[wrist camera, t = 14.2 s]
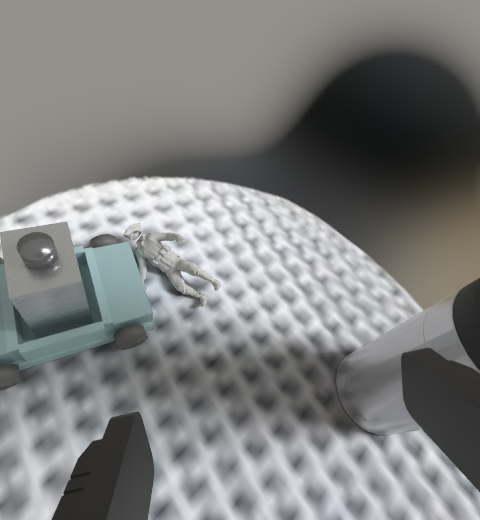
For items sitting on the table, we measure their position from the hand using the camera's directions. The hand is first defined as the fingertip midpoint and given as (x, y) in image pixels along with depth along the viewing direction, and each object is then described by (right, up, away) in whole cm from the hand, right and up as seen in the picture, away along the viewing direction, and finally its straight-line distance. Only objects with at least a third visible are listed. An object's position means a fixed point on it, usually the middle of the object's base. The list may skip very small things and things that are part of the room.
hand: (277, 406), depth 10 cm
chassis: (-19, -1, +24) cm, 31 cm away
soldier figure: (-10, +3, +30) cm, 32 cm away
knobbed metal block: (-19, 0, +23) cm, 30 cm away
